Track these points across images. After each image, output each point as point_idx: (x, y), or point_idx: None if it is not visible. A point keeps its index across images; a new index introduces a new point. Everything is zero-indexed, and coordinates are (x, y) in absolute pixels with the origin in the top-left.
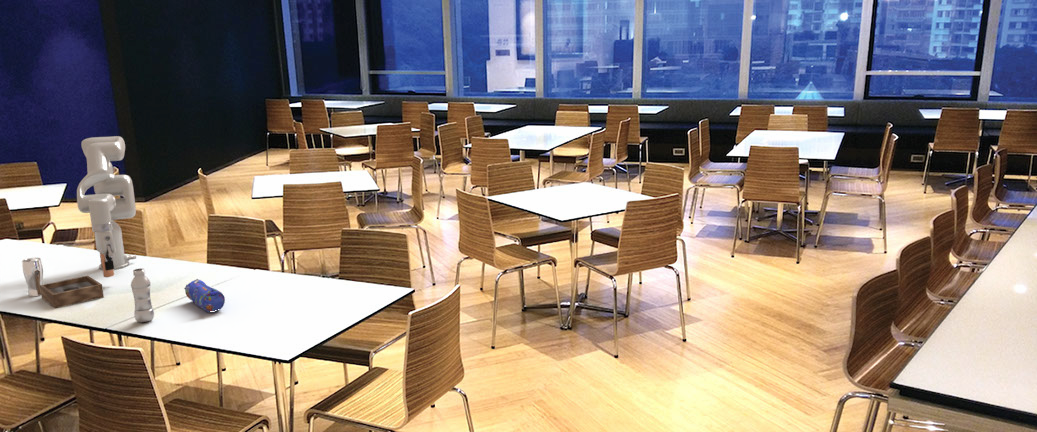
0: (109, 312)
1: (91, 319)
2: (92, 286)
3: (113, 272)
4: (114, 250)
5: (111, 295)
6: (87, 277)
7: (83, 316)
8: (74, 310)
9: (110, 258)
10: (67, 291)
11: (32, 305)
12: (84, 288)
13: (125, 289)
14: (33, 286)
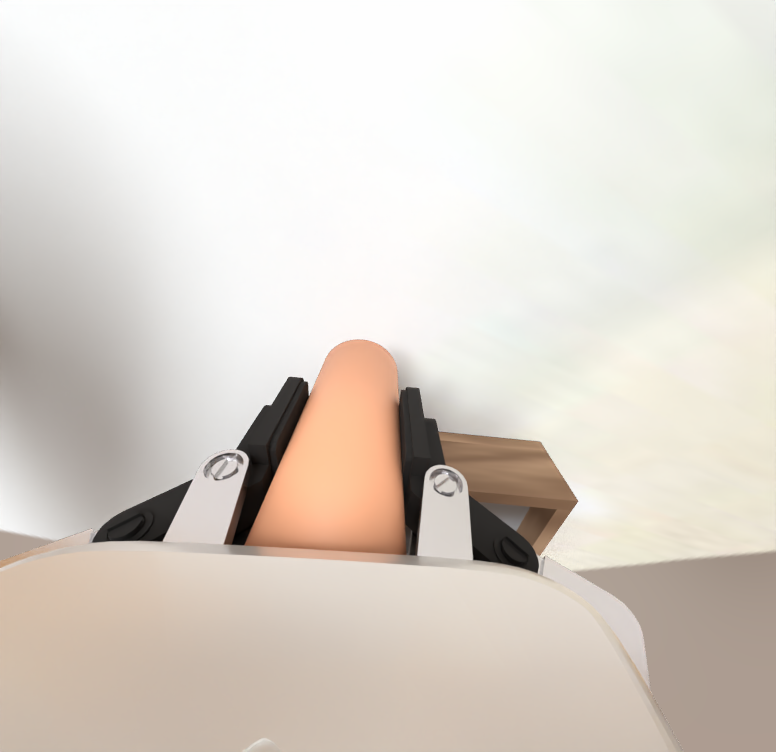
0: (745, 502)
1: (723, 548)
2: (555, 532)
3: (384, 360)
4: (648, 702)
5: (552, 412)
6: None
7: (664, 549)
8: (572, 541)
9: (486, 533)
10: None
11: None
12: (538, 552)
13: (532, 321)
14: None
